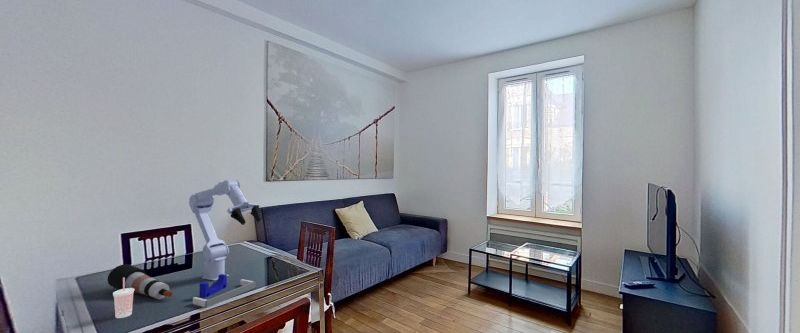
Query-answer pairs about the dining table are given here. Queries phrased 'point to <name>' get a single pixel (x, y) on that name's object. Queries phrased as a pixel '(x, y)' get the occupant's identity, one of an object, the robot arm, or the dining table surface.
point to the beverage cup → (123, 301)
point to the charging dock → (225, 294)
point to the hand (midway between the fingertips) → (251, 222)
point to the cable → (138, 281)
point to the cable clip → (213, 286)
